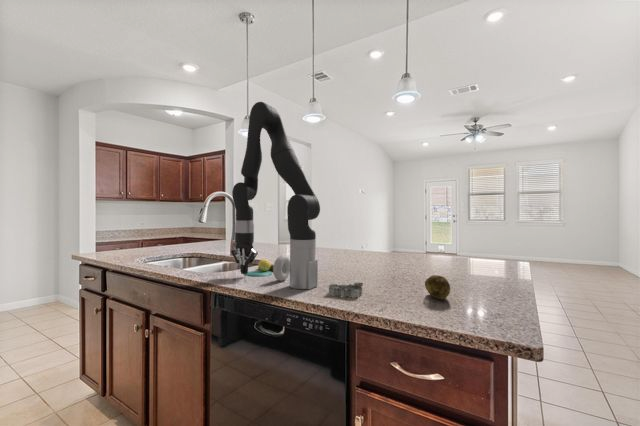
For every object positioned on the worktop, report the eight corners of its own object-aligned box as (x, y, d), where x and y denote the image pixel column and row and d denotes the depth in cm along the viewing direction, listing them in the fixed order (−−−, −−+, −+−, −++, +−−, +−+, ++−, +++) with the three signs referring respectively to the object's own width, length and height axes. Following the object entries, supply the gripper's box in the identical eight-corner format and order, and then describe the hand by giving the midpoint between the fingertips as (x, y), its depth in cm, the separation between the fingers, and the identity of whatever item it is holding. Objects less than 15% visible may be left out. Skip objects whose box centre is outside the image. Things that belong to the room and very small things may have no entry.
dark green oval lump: (454, 296, 100) (454, 271, 100) (448, 306, 89) (448, 279, 89) (427, 292, 104) (428, 269, 104) (418, 302, 93) (418, 275, 93)
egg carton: (364, 294, 102) (364, 282, 102) (357, 300, 96) (357, 287, 96) (334, 290, 107) (335, 279, 107) (325, 296, 100) (326, 283, 100)
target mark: (277, 272, 137) (277, 272, 137) (260, 277, 126) (260, 277, 126) (257, 270, 142) (257, 269, 142) (238, 274, 132) (238, 274, 132)
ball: (275, 266, 141) (270, 257, 138) (268, 274, 137) (262, 266, 134) (266, 264, 144) (261, 255, 141) (259, 273, 140) (253, 264, 138)
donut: (278, 283, 116) (279, 257, 116) (271, 282, 117) (271, 256, 117) (292, 278, 125) (292, 254, 125) (285, 277, 126) (285, 253, 126)
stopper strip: (285, 271, 140) (285, 266, 140) (282, 272, 138) (282, 266, 138) (261, 268, 146) (261, 263, 146) (258, 269, 145) (258, 263, 145)
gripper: (263, 231, 126) (262, 273, 127) (239, 230, 133) (238, 270, 133) (250, 232, 120) (250, 277, 120) (225, 231, 126) (225, 273, 126)
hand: (244, 273), depth 126 cm, fingers closed
